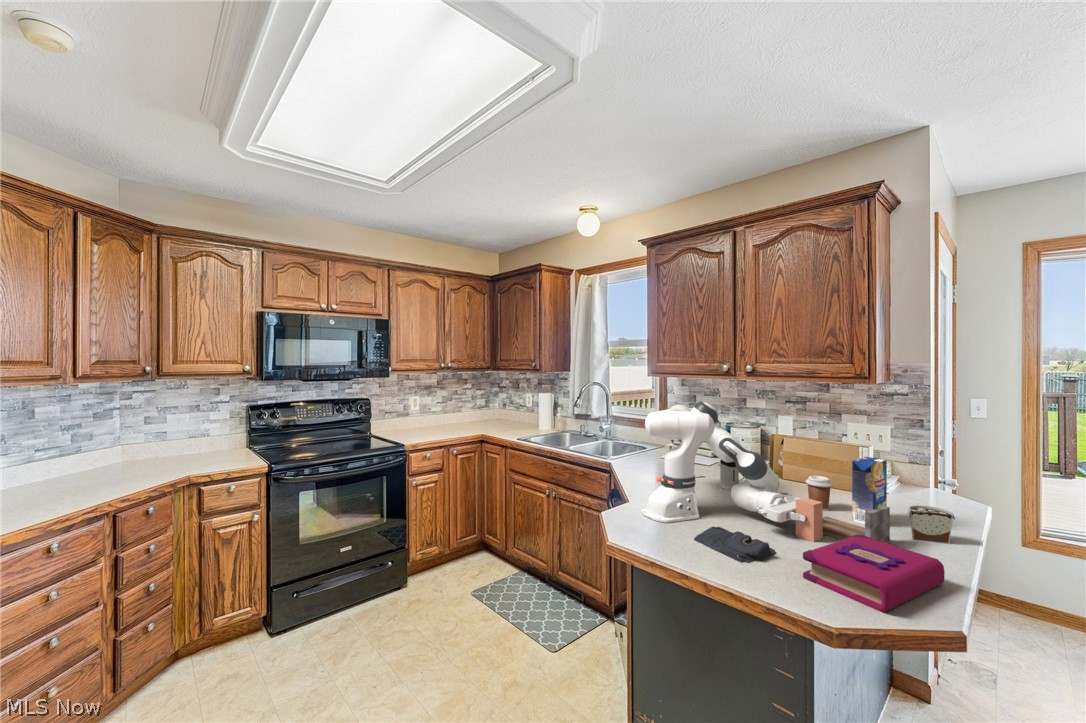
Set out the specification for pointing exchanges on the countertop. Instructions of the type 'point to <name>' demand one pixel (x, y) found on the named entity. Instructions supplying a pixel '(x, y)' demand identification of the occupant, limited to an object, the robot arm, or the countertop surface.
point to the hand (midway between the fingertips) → (811, 516)
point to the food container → (930, 524)
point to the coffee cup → (819, 490)
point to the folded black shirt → (735, 545)
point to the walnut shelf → (874, 527)
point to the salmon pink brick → (810, 519)
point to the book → (873, 571)
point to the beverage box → (868, 486)
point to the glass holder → (728, 474)
